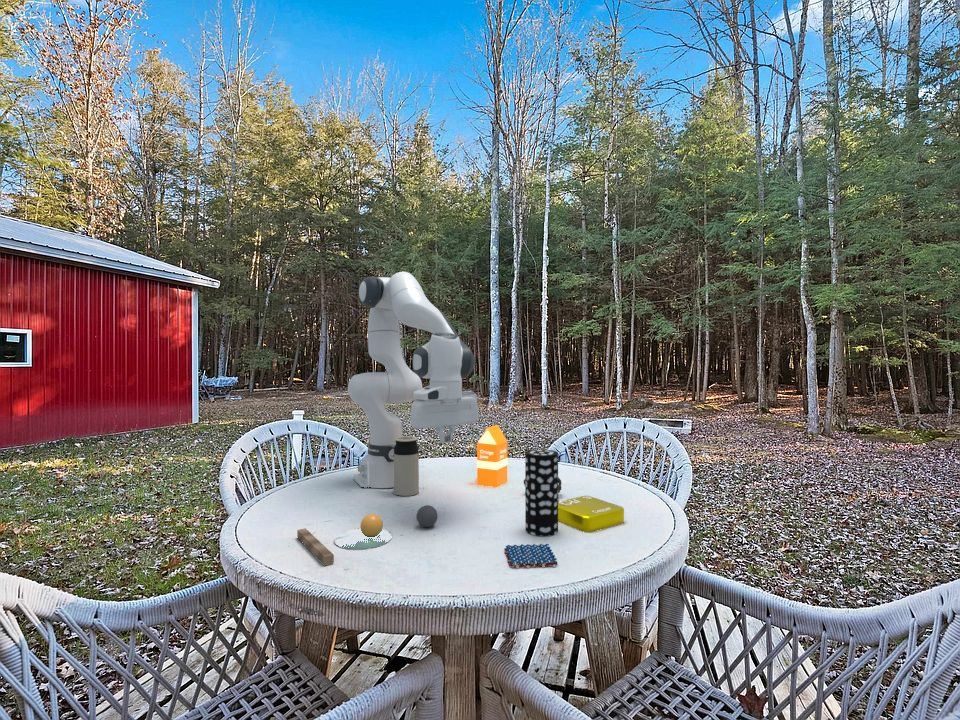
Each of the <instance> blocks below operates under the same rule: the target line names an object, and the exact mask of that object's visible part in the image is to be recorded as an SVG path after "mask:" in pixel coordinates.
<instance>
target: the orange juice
mask: <svg viewBox="0 0 960 720" xmlns="http://www.w3.org/2000/svg"><path fill="white" fill-rule="evenodd" d="M505 482H506V483H507V482H508V439H507V438H506V437H505V434H504V433H503V431H502V429H501V428H500V426H499V425H498V424H496V425H492V426H488V427H486V429H485V431H484V433H483V434H482V435H481V437H480V439H479V440H478V441H477V443H476V483H477V486H481V485H484V486H483V487H488V486H492V487H491V488H496V487H497V488H499V487H500V485H501V484H502V485H504V484H506V483H505ZM503 483H504V484H503ZM502 485H501V486H502ZM498 486H499V487H498Z"/></svg>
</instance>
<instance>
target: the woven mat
mask: <svg viewBox="0 0 960 720" xmlns="http://www.w3.org/2000/svg"><path fill="white" fill-rule="evenodd" d="M503 549H504V554H505V557H506V559H507V564H508V566H509V567H511V569H512V570H513V569H514V568H515V569H517V570H518V569H520V568H521V570H522V569H523V570H524V569H525V568H526V569H530V568H532V569H533V568H535V567H536V568H539V569H540V568H542V569H545V568H548V569H550V566H552V568H556V567H557V566H558V561H557V559H558V558H556V555H555V554H554V552H552V551H553V550H552V549H551V546H550V544H549V543H546V544H544V543H540V544H539V543H538V544H535V543H533V544H532V543H531V544H523V543H522V544H518V545H517V544H516V543H515V544H508V545H506V546H505V547H504V548H503Z"/></svg>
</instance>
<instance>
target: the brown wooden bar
mask: <svg viewBox="0 0 960 720" xmlns="http://www.w3.org/2000/svg"><path fill="white" fill-rule="evenodd" d="M296 535H297V537H298V538H299V539H300V540H301V541H302V542H303V543H304V544H305V545H304V544H303V543H302V542H301V541H300V540H299V539H298V538H297V537H296V538H297V539H298V540H299V541H300V542H301V543H302V544H303V545H304V546H306V547H307V548H308V549H309V550H310V551H311V552H312V553H313V554H314V555H315V556H316V557H317V558H318V559H319V560H320V561H321V562H322V563H323V564H324V565H323V564H322V563H321V562H320V561H319V560H318V559H317V558H316V557H315V556H314V555H313V554H312V553H311V552H310V551H309V550H308V549H307V548H306V549H307V550H308V551H309V552H310V553H311V554H312V555H313V556H314V557H315V558H316V559H317V560H318V561H319V562H320V563H321V564H322V565H323V567H326V566H325V565H327V566H330V565H329V564H331V565H334V564H335V563H334V562H335V558H334V557H335V555H334V553H332V551H331V550H330V549H328V548H327V547H326V545H324V544H323V543H322V542H321V541H320V540H318V538H317V537H315V536H314V535H313V534H312V533H311V532H310V531H309V530H308V529H307V528H301V529H297V534H296ZM333 563H334V564H333Z"/></svg>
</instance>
